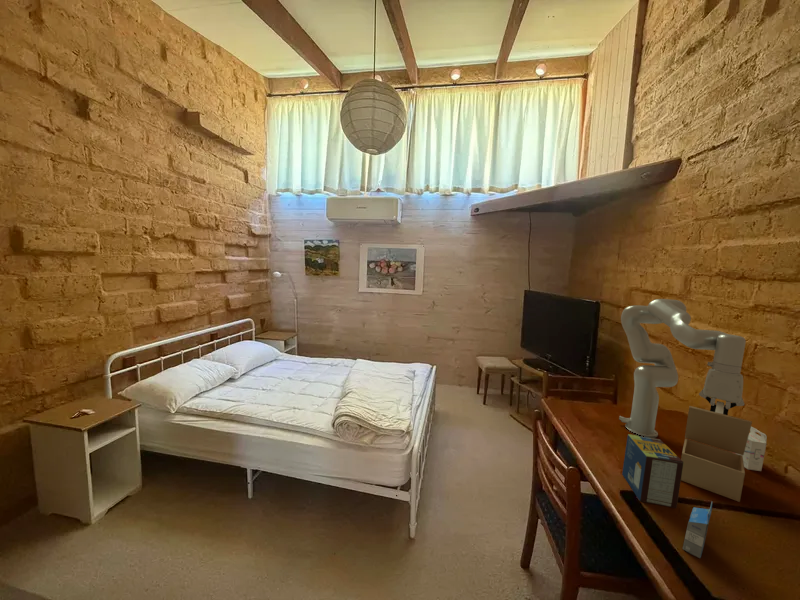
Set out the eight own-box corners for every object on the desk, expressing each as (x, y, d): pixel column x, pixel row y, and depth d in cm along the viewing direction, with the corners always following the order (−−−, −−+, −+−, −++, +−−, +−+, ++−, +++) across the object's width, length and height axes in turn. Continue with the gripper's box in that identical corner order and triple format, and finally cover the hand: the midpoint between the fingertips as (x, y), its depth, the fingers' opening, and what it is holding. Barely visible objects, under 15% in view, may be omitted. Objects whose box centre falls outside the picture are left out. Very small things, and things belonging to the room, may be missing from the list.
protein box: (654, 480, 123) (660, 438, 121) (677, 509, 108) (684, 462, 106) (621, 474, 125) (627, 433, 123) (639, 501, 110) (646, 455, 109)
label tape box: (687, 533, 97) (693, 493, 96) (706, 542, 94) (713, 500, 93) (681, 549, 91) (689, 506, 90) (702, 560, 88) (709, 515, 87)
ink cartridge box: (730, 457, 142) (736, 423, 141) (744, 459, 141) (751, 425, 140) (747, 469, 134) (753, 433, 133) (762, 471, 133) (769, 435, 132)
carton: (677, 479, 124) (682, 452, 123) (681, 462, 136) (685, 438, 135) (739, 501, 113) (744, 473, 112) (737, 481, 125) (742, 455, 124)
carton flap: (689, 406, 128) (691, 394, 132) (684, 437, 135) (686, 425, 139) (751, 422, 117) (752, 409, 121) (743, 455, 124) (743, 441, 128)
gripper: (697, 364, 128) (689, 412, 130) (758, 376, 117) (749, 427, 119) (697, 361, 133) (690, 407, 135) (756, 372, 123) (747, 421, 124)
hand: (718, 416), depth 127 cm, fingers closed on carton flap, 2 cm apart
